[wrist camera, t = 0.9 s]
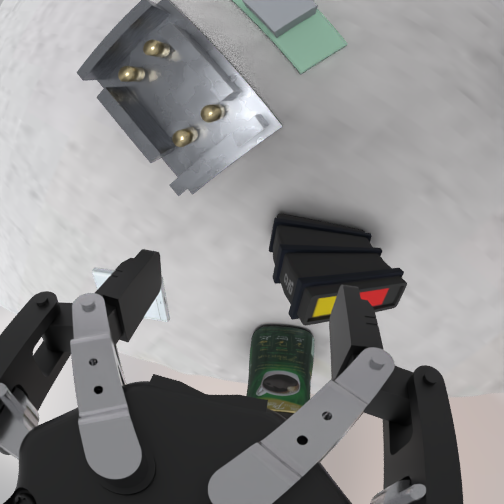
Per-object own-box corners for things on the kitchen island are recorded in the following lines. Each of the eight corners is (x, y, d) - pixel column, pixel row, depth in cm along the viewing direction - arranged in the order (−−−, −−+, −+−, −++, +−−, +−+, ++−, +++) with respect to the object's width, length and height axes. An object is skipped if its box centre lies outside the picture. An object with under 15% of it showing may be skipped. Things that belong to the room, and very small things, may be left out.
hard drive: (103, 310, 47) (167, 323, 45) (91, 271, 43) (159, 281, 41) (108, 304, 48) (171, 316, 47) (96, 265, 44) (163, 274, 43)
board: (220, -10, 23) (207, -25, 19) (262, -38, 21) (256, -56, 17) (300, 74, 28) (301, 70, 23) (344, 46, 25) (352, 38, 21)
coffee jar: (251, 355, 48) (231, 456, 32) (253, 320, 44) (228, 431, 28) (310, 360, 47) (307, 463, 31) (318, 326, 43) (319, 440, 27)
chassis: (95, 73, 29) (67, 74, 24) (167, -2, 24) (146, -14, 19) (194, 192, 35) (178, 208, 31) (282, 125, 30) (279, 131, 25)
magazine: (248, 209, 34) (308, 292, 22) (345, 211, 38) (422, 277, 26) (244, 239, 36) (297, 329, 24) (338, 236, 40) (408, 306, 28)
